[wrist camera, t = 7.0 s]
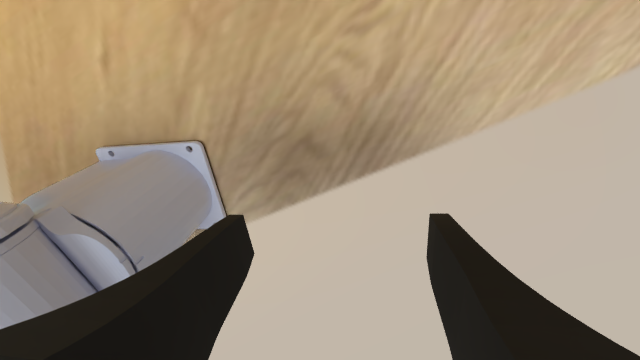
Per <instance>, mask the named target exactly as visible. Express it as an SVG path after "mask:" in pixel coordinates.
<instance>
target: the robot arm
mask: <svg viewBox="0 0 640 360" xmlns="http://www.w3.org/2000/svg"><path fill="white" fill-rule="evenodd" d="M189 146H190V147H191V148H192V150H191V149H190V148H189ZM96 155H97V157H98V158H99V160H100V161H99V162H97V163H95V164H93V165H91V166H89V167H87V168H85V169H83V170H81V171H79V172H77V173H75V174H73V175H71V176H69V177H67V178H65V179H63V180H61V181H59V182H56V183H54V184H52V185H50V186H48V187H46V188H44V189H42V190H40V191H38V192H36V193H34V194H32V195H31V196H29V197H27V198H26V199H24V200H23V201H22V202H21V203H20V204H14V203H7V202H0V360H208V358H209V356H210V353H211V351H212V348H213V346H214V343H215V340H216V338H217V336H218V334H219V331H220V329H221V327H222V325H223V323H224V321H225V319H226V317H227V315H228V313H229V311H230V309H231V307H232V305H233V303H234V301H235V299H236V297H237V295H238V293H239V291H240V289H241V287H242V285H243V283H244V281H245V279H246V277H247V274H248V271H249V268H250V266H251V262H252V259H253V256H254V250H253V247H252V244H251V240H250V237H249V233H248V230H247V227H246V223H245V220H244V216H243V215H228V216H226V214H225V211H224V208H223V205H222V202H221V198H220V195H219V192H218V189H217V186H216V183H215V180H214V177H213V174H212V171H211V168H210V165H209V162H208V159H207V156H206V153H205V150H204V147H203V145H202V144H201V143H200V142H198V141H187V142H171V143H156V144H140V145H124V146H108V147H100V148H98V149H96ZM196 229H206V230H205V231H203V232H202V233H200V234H199V235H197V236H196V237H194V238H193V239H191V240H190V241H188V242H187V243H185V241H186V240H187V239H188V238H189V237H190V236H191V235H192V233H193V232H194V231H195V230H196ZM184 243H185V244H184ZM183 244H184V245H183ZM427 262H428V269H429V274H430V280H431V285H432V289H433V292H434V295H435V299H436V302H437V306H438V309H439V313H440V316H441V319H442V323H443V326H444V330H445V333H446V336H447V340H448V343H449V347H450V351H451V354H452V358H453V360H640V356H638V355H637V354H635V353H633V352H631V351H629V350H627V349H626V348H624V347H622V346H620V345H619V344H617V343H615V342H613V341H612V340H610V339H608V338H607V337H605V336H603V335H602V334H600V333H598V332H597V331H595V330H593V329H592V328H590V327H588V326H587V325H585V324H584V323H582V322H581V321H579V320H577V319H576V318H574V317H573V316H571V315H570V314H568V313H566V312H565V311H563V310H562V309H560V308H559V307H557V306H556V305H554V304H553V303H551V302H550V301H548V300H547V299H546V298H544V297H543V296H541V295H540V294H539V293H537V292H536V291H534V290H533V289H532V288H530V287H529V286H528V285H526V284H525V283H524V282H522V281H521V280H520V279H518V278H517V277H516V276H515V275H513V274H512V273H511V272H510V271H508V270H507V269H506V268H505V267H504V266H502V265H501V264H500V263H499V262H497V260H495V259H494V258H493V257H492V256H491V255H490V254H489V253H488V252H486V251H485V250H484V249H483V248H482V247H481V246H480V245H479V244H478V243H477V242H476V241H475V240H474V239H473V238H472V237H471V236H470V235H469V234H468V233H467V232H466V231H465V230H464V229H463V228H462V227H461V226H460V225H459V224H458V223H457V222H456V221H455V220H454V219H453V218H452V217H451V216H450V215H449V214H430V218H429V232H428V246H427Z"/></svg>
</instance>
